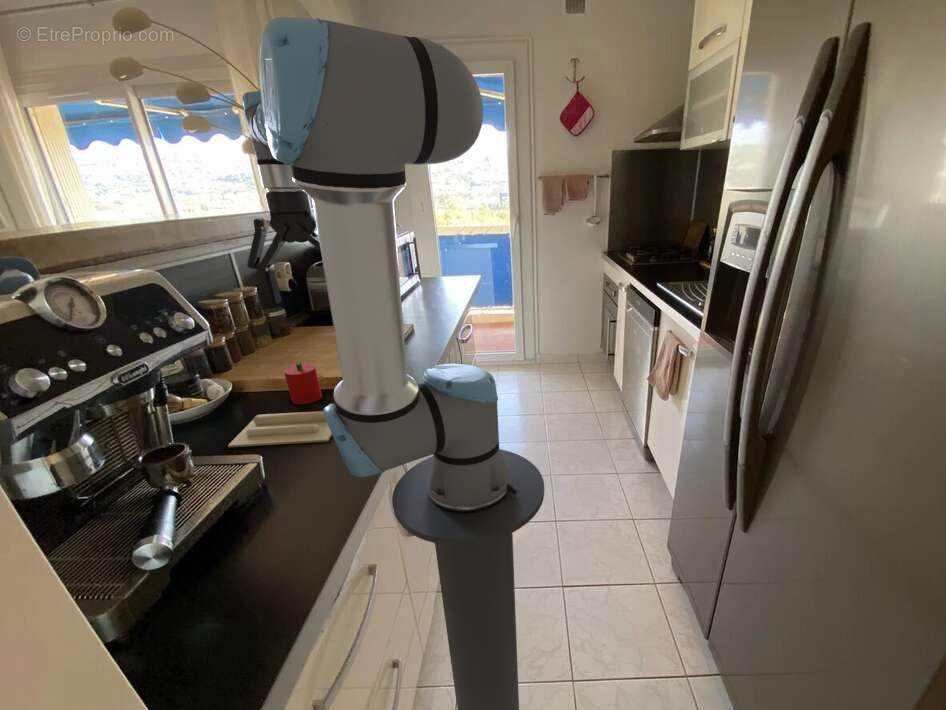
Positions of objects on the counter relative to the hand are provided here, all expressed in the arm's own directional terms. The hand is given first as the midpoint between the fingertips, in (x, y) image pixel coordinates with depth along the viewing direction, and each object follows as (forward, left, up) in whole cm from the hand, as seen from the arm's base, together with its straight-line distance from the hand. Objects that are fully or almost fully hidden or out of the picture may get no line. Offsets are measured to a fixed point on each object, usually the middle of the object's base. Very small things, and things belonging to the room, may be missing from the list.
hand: (311, 301), depth 94 cm
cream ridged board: (+8, +6, -27) cm, 29 cm away
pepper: (+10, -10, -27) cm, 30 cm away
